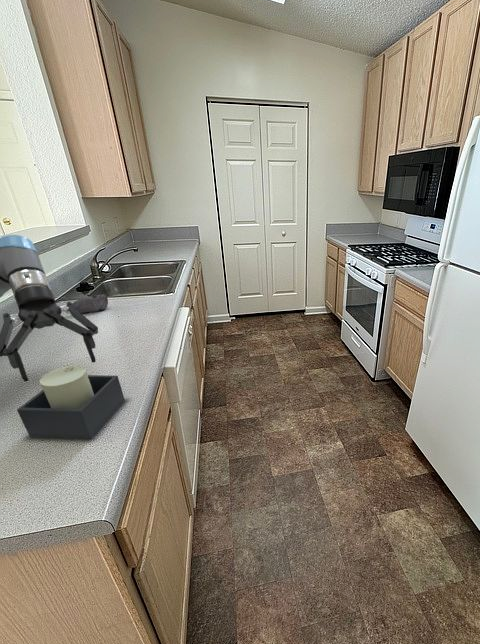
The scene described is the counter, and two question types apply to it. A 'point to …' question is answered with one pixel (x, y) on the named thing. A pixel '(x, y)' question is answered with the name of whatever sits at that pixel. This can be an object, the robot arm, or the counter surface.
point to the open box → (73, 412)
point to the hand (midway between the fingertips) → (61, 369)
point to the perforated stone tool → (91, 303)
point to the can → (67, 387)
